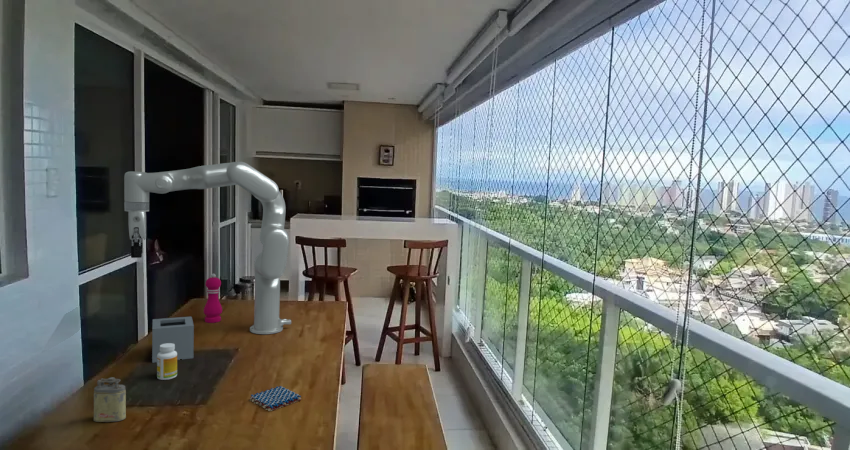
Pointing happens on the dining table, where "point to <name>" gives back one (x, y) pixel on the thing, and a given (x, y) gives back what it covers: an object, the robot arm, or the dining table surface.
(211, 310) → the pink bowling pin
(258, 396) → the woven mat
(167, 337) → the box
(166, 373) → the supplement bottle
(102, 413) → the yellow canister
